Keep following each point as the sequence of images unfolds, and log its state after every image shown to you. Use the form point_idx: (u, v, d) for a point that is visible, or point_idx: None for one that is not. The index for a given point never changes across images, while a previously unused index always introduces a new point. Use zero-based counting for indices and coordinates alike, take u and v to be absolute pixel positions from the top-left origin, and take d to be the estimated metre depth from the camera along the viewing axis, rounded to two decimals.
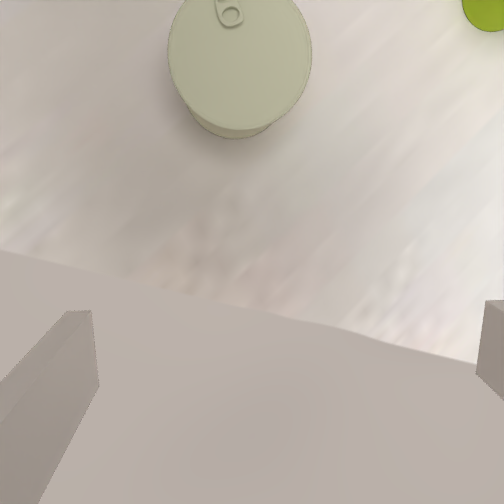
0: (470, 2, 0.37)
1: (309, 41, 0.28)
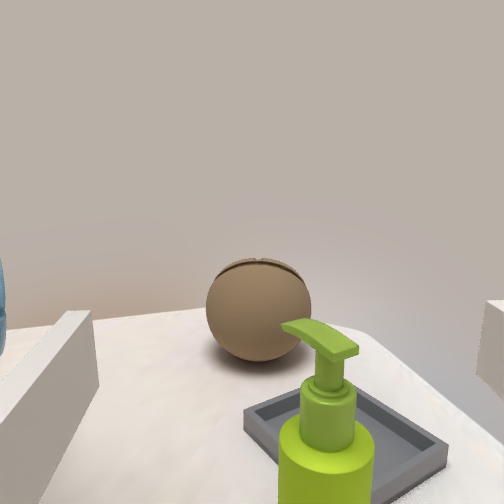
0: None
1: None
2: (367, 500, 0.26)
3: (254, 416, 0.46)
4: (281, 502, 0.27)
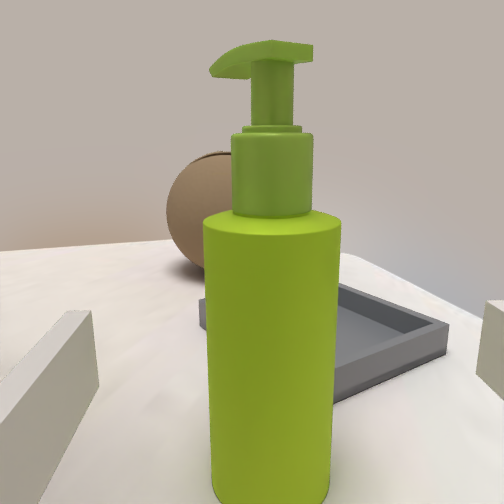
0: (231, 492, 0.20)
1: None
2: (330, 298, 0.18)
3: None
4: (207, 314, 0.19)
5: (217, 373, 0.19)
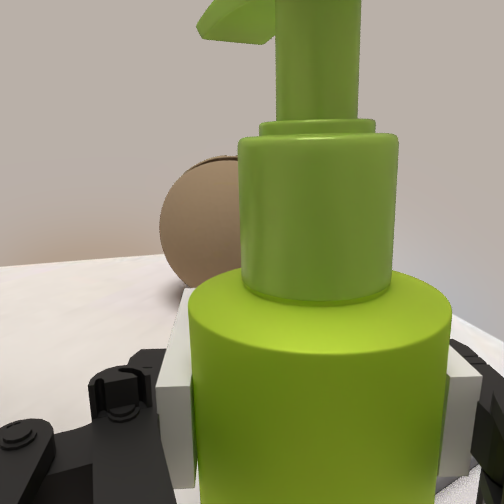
0: None
1: None
2: (435, 453, 0.09)
3: None
4: (199, 468, 0.10)
5: None
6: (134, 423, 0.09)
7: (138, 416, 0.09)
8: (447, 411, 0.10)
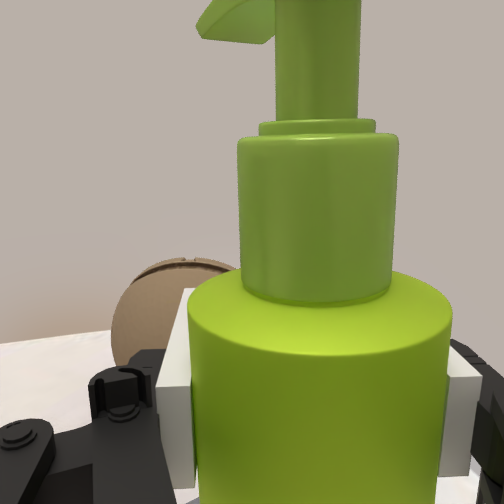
0: None
1: None
2: (435, 454, 0.09)
3: None
4: (198, 469, 0.10)
5: None
6: (134, 423, 0.09)
7: (138, 416, 0.09)
8: (447, 411, 0.10)
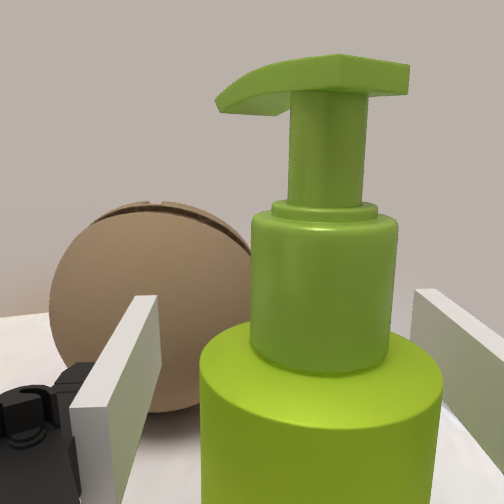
0: None
1: None
2: None
3: None
4: None
5: None
6: (40, 447, 0.08)
7: (45, 439, 0.08)
8: None
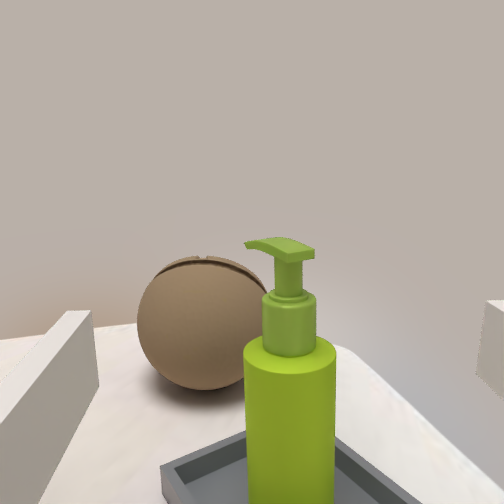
0: None
1: None
2: (329, 407, 0.27)
3: (172, 477, 0.33)
4: (246, 414, 0.28)
5: (254, 455, 0.28)
6: None
7: None
8: None
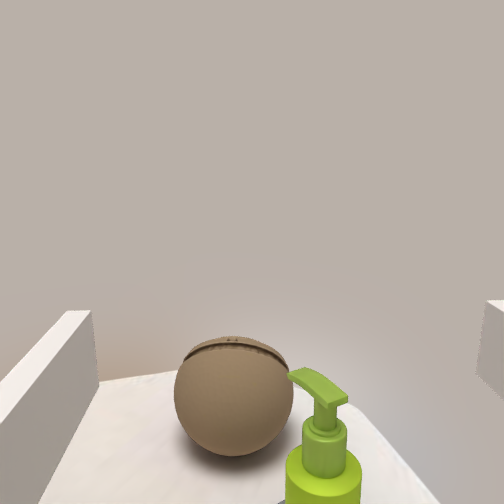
0: None
1: None
2: None
3: None
4: None
5: None
6: None
7: None
8: None
